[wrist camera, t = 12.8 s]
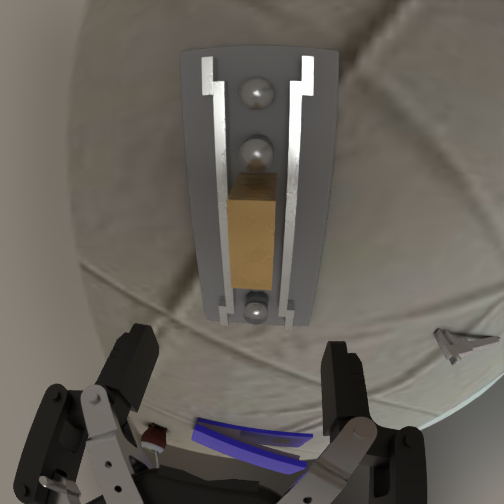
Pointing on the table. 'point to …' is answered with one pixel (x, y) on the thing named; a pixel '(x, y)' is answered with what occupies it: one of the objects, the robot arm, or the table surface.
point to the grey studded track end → (256, 298)
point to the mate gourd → (154, 439)
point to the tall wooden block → (252, 230)
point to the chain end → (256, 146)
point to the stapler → (252, 444)
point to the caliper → (461, 345)
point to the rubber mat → (276, 129)
